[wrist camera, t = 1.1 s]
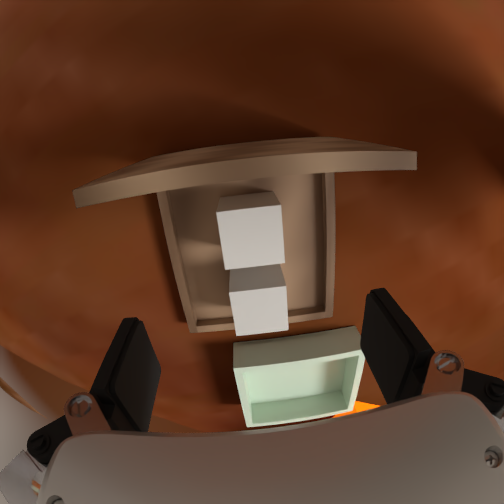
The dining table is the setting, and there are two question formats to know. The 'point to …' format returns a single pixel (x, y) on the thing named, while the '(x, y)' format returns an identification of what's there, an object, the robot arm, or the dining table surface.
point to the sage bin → (298, 376)
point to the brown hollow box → (239, 183)
